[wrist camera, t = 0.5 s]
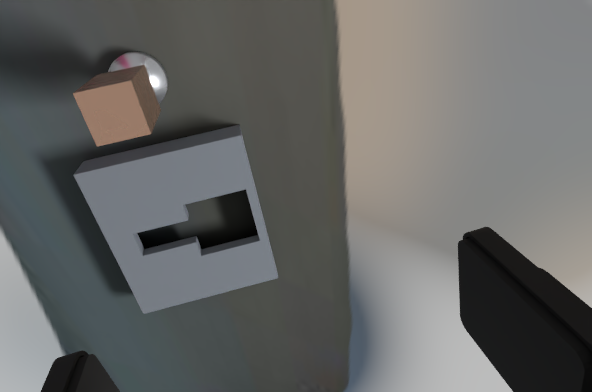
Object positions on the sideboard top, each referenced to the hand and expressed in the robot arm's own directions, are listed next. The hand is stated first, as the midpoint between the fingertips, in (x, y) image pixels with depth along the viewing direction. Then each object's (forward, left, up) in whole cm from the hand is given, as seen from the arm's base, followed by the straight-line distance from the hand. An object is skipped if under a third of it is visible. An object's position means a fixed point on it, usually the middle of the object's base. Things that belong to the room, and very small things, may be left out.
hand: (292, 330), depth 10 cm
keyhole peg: (-2, -8, -31) cm, 32 cm away
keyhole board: (+13, -8, -31) cm, 34 cm away
